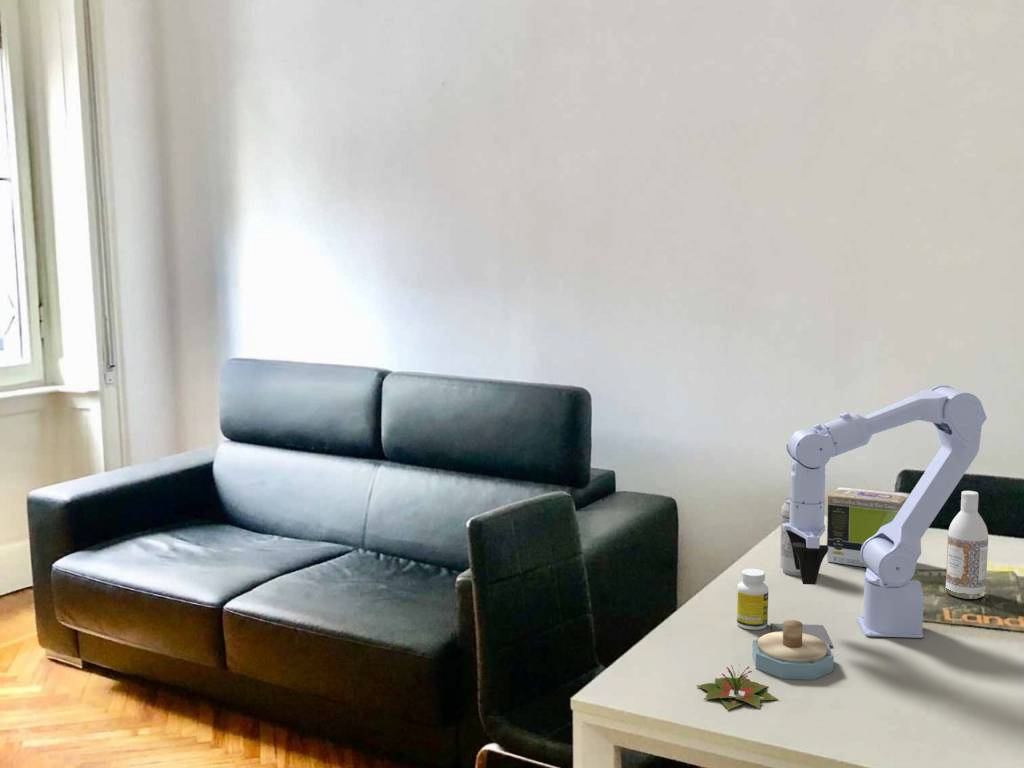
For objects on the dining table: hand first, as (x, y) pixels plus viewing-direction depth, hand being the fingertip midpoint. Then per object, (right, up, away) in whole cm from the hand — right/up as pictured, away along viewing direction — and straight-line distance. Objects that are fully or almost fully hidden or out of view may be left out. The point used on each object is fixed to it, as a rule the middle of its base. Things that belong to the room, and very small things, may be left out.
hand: (805, 576), depth 175 cm
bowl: (-6, -12, -12) cm, 18 cm away
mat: (-1, -10, -1) cm, 10 cm away
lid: (-6, -9, -12) cm, 16 cm away
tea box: (+24, -4, +38) cm, 45 cm away
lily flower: (-17, -14, -22) cm, 31 cm away
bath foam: (+36, -7, +18) cm, 40 cm away
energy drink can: (+7, -5, +32) cm, 34 cm away
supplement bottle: (-8, -10, +5) cm, 13 cm away
